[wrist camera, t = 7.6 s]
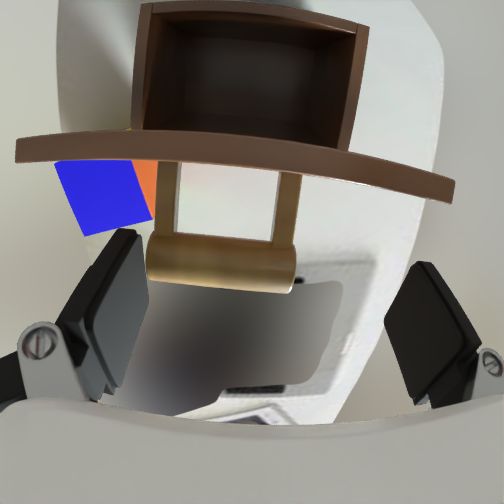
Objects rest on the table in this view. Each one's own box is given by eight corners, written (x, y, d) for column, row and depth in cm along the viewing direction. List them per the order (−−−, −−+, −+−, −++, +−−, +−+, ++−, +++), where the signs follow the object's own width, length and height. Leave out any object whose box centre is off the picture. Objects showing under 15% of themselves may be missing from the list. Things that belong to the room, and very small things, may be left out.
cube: (92, 142, 28) (53, 163, 21) (153, 119, 27) (123, 134, 20) (114, 202, 32) (84, 236, 26) (173, 186, 31) (152, 219, 25)
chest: (185, 31, 22) (140, 3, 11) (322, 45, 23) (370, 26, 12) (177, 118, 27) (130, 146, 17) (308, 132, 28) (344, 167, 17)
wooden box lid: (15, 138, 6) (24, 290, 8) (456, 180, 7) (416, 329, 9) (128, 142, 16) (124, 221, 18) (347, 163, 17) (334, 242, 19)
